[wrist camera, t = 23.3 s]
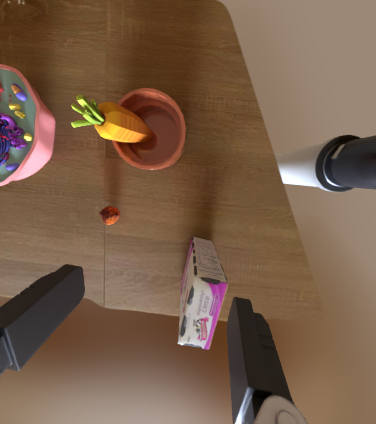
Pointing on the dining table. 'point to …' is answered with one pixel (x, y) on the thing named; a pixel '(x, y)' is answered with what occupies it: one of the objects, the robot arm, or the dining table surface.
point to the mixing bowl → (154, 130)
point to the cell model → (22, 127)
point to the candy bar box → (201, 294)
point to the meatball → (109, 215)
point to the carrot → (112, 121)
